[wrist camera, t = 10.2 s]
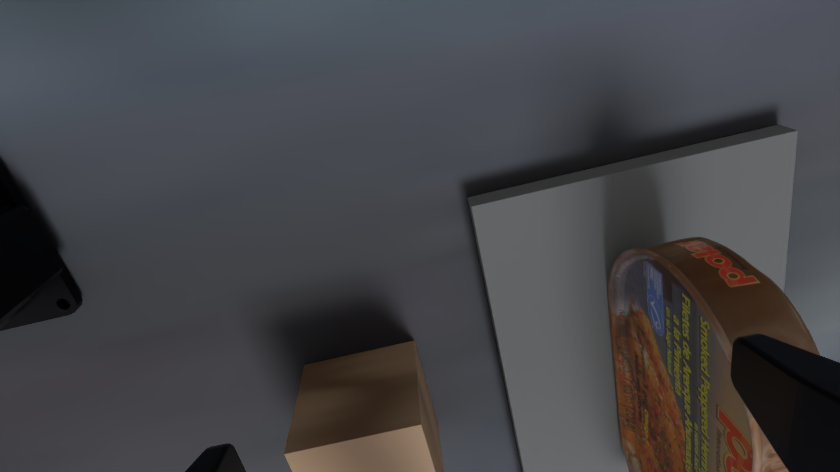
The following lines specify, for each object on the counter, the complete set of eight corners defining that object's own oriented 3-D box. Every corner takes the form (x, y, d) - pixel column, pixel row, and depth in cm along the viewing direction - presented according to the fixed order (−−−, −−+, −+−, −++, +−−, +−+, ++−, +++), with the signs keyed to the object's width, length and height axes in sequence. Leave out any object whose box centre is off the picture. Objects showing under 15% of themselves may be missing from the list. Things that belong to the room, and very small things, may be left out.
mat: (531, 519, 28) (537, 536, 27) (467, 197, 20) (471, 206, 19) (754, 472, 27) (766, 489, 26) (778, 124, 19) (797, 130, 19)
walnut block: (336, 444, 25) (326, 543, 20) (304, 364, 23) (283, 454, 18) (437, 422, 25) (449, 517, 20) (414, 339, 23) (421, 424, 18)
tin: (600, 213, 19) (739, 351, 12) (683, 194, 19) (878, 321, 12) (622, 485, 26) (722, 691, 18) (685, 472, 26) (813, 673, 18)
